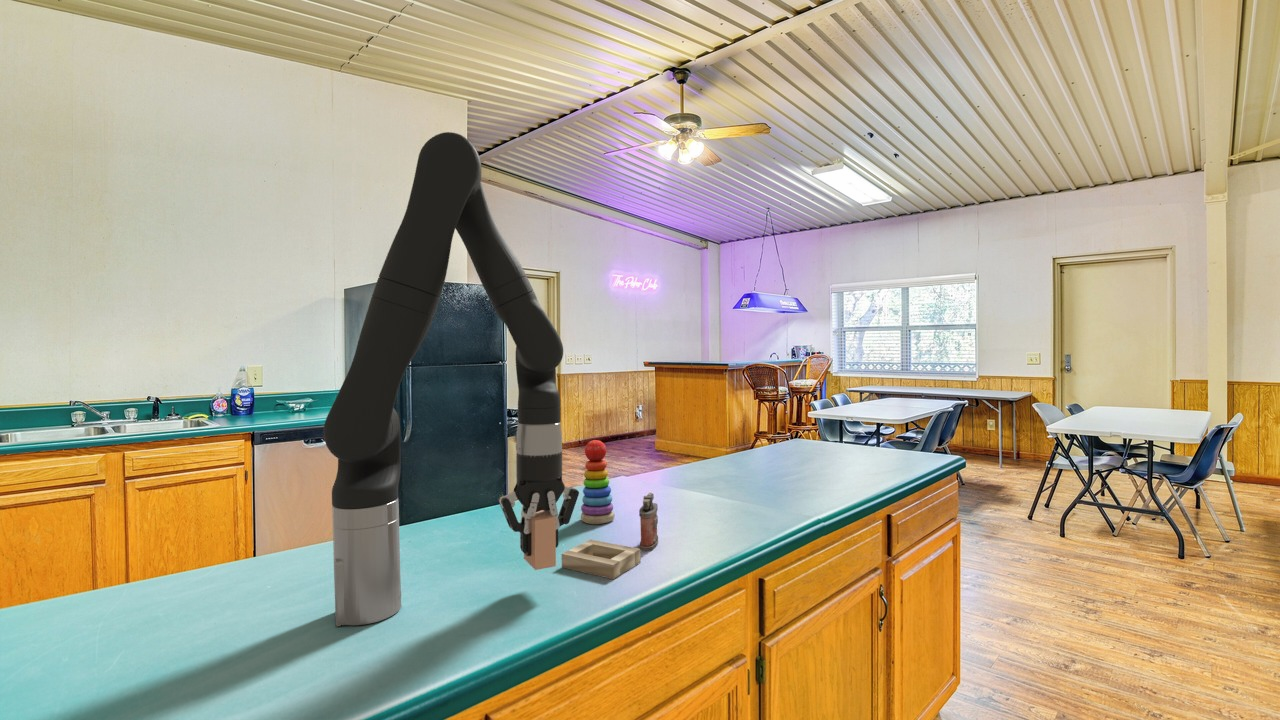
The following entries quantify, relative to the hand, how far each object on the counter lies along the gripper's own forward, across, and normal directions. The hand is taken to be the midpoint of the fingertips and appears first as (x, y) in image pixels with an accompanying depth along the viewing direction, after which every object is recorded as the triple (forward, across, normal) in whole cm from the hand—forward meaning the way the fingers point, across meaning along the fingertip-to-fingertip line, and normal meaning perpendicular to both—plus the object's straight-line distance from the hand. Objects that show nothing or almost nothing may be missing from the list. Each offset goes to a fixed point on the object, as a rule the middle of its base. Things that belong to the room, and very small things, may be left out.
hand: (539, 552), depth 96 cm
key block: (+2, 0, 0) cm, 2 cm away
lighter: (+6, +26, +10) cm, 29 cm away
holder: (+6, +14, +5) cm, 16 cm away
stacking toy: (+6, +25, +31) cm, 40 cm away
